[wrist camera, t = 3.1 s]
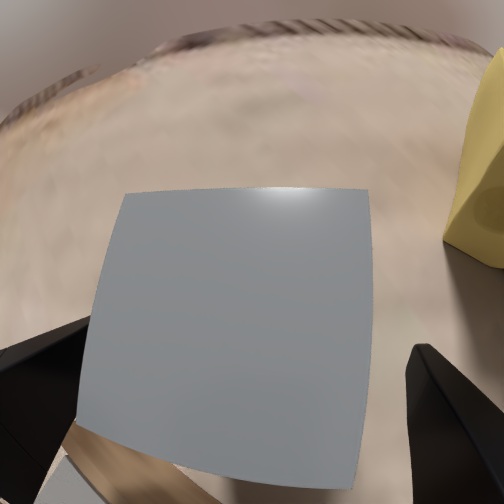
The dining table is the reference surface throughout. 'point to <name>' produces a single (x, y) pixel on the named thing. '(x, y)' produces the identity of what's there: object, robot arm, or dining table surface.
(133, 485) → the trap frame
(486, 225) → the cheese
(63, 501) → the trapdoor
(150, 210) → the grey rectangular block
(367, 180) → the dining table surface
